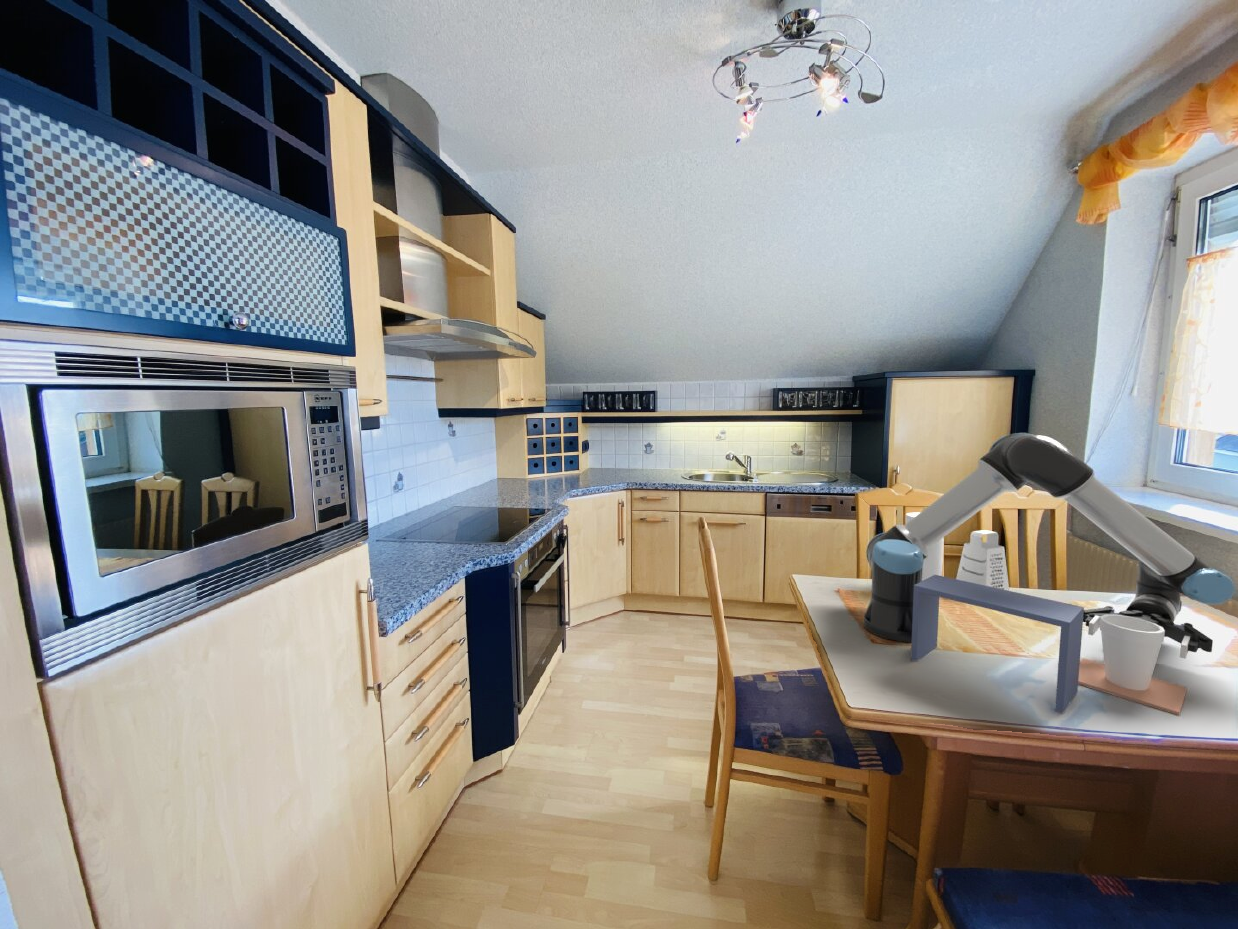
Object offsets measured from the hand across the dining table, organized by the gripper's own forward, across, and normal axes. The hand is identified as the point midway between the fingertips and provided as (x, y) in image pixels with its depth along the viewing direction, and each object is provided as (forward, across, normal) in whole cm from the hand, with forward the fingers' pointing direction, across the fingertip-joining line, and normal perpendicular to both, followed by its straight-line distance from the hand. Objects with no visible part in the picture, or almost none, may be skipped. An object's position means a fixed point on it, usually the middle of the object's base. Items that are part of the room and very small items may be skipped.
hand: (1134, 639), depth 105 cm
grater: (-39, +39, -10) cm, 56 cm away
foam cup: (+1, 0, -9) cm, 10 cm away
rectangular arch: (+19, +20, -10) cm, 29 cm away
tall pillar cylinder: (-27, +52, -10) cm, 59 cm away
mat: (+2, 0, -10) cm, 10 cm away
